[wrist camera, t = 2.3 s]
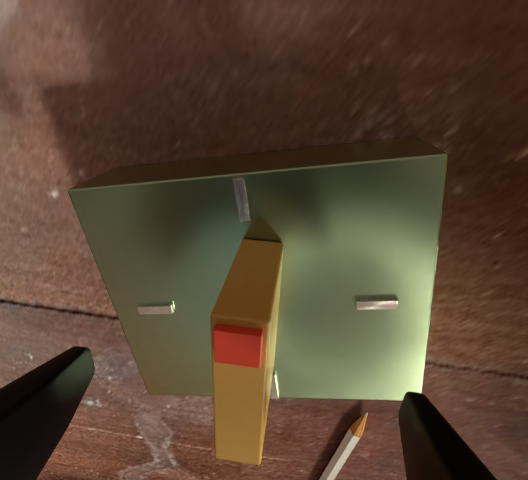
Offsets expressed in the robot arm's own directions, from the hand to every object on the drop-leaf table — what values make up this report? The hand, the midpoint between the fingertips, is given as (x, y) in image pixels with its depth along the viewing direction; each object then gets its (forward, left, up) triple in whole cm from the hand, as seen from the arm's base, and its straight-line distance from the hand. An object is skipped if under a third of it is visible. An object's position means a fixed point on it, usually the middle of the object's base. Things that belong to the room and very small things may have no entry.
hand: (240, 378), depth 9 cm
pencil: (+1, -18, -6) cm, 19 cm away
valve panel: (0, 0, -6) cm, 6 cm away
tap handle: (0, 0, -3) cm, 3 cm away
